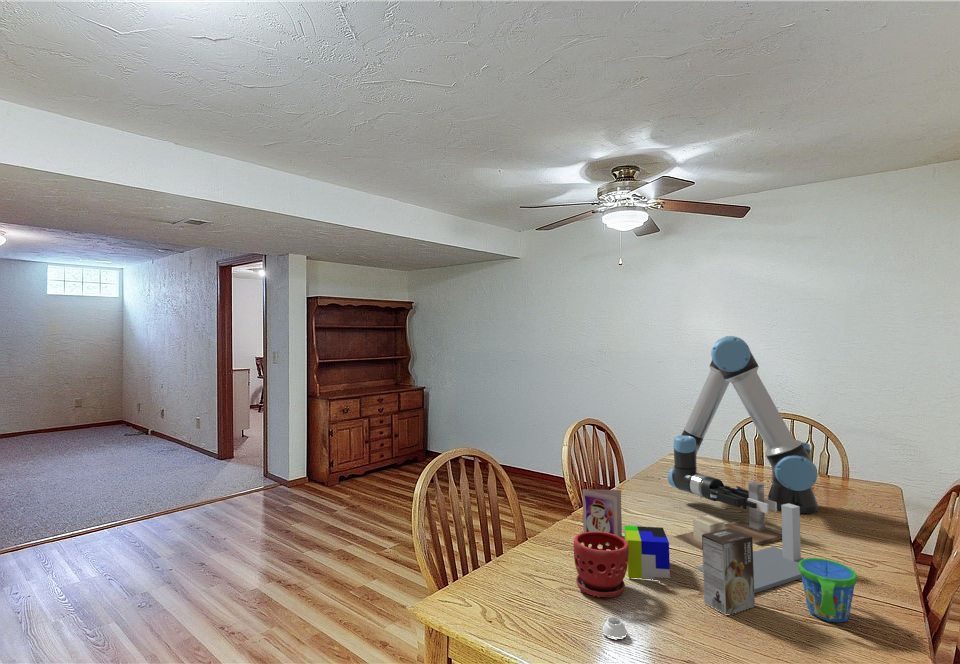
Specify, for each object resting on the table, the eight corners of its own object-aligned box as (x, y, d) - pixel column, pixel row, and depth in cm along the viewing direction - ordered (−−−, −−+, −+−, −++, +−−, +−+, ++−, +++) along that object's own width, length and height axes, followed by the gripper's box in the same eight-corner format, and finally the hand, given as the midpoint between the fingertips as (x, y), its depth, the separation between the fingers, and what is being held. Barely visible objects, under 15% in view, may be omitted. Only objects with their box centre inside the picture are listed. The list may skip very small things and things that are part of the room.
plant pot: (620, 608, 115) (619, 555, 115) (566, 593, 122) (565, 543, 122) (635, 583, 126) (634, 535, 126) (585, 571, 133) (584, 526, 133)
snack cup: (855, 640, 101) (854, 589, 101) (793, 622, 108) (792, 574, 108) (860, 607, 113) (859, 562, 113) (805, 592, 120) (803, 549, 120)
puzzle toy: (669, 582, 126) (669, 542, 126) (628, 579, 128) (627, 540, 128) (663, 564, 136) (662, 527, 136) (625, 562, 138) (624, 525, 138)
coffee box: (731, 594, 120) (729, 526, 120) (755, 607, 114) (753, 536, 114) (702, 603, 116) (701, 533, 116) (726, 617, 110) (724, 543, 110)
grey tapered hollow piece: (604, 626, 108) (600, 639, 103) (603, 612, 108) (600, 625, 103) (628, 630, 106) (626, 644, 101) (628, 616, 106) (625, 629, 102)
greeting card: (582, 539, 153) (581, 490, 154) (594, 532, 159) (593, 484, 159) (616, 549, 146) (615, 497, 146) (628, 541, 151) (627, 491, 151)
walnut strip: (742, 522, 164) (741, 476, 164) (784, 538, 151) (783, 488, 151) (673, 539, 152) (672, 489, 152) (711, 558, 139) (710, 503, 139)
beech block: (708, 535, 152) (707, 515, 152) (725, 542, 147) (724, 521, 147) (693, 538, 150) (693, 518, 150) (710, 546, 144) (709, 525, 144)
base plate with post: (773, 549, 143) (772, 497, 143) (824, 570, 130) (823, 512, 131) (695, 571, 131) (694, 514, 131) (743, 597, 118) (742, 532, 118)
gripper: (724, 494, 177) (789, 515, 155) (690, 501, 170) (753, 525, 148) (724, 473, 177) (789, 491, 155) (690, 479, 170) (753, 499, 149)
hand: (771, 507), depth 152 cm, fingers closed on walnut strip, 3 cm apart
